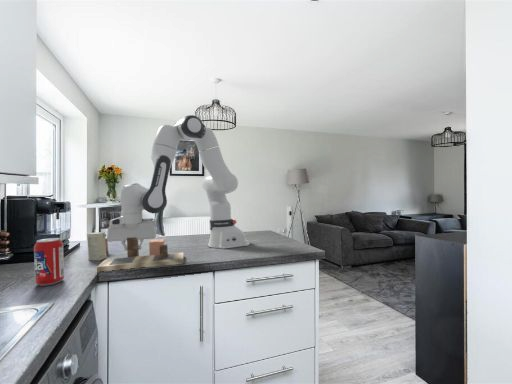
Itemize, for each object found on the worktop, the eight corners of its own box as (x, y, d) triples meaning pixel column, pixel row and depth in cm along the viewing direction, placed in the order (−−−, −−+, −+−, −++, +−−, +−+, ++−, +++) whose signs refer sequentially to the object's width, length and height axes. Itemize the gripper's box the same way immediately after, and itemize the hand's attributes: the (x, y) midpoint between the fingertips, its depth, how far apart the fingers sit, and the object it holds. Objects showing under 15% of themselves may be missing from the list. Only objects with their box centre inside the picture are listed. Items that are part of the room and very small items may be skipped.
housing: (164, 253, 130) (164, 238, 130) (163, 256, 122) (163, 241, 122) (151, 254, 128) (151, 239, 128) (149, 258, 121) (149, 242, 121)
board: (183, 256, 122) (182, 241, 122) (183, 263, 110) (182, 246, 110) (105, 263, 113) (105, 247, 113) (96, 272, 102) (96, 254, 102)
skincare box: (106, 258, 123) (106, 232, 122) (99, 261, 118) (98, 233, 118) (95, 257, 124) (94, 231, 124) (87, 260, 120) (86, 233, 120)
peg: (138, 257, 123) (138, 235, 123) (137, 259, 119) (136, 237, 119) (129, 258, 122) (128, 236, 122) (127, 260, 118) (126, 237, 118)
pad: (135, 257, 115) (135, 256, 115) (131, 262, 106) (131, 262, 106) (115, 259, 113) (115, 258, 113) (109, 264, 104) (109, 264, 104)
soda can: (67, 282, 91) (65, 238, 91) (37, 289, 85) (36, 242, 85) (61, 277, 96) (59, 236, 96) (33, 283, 91) (31, 240, 90)
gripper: (156, 217, 126) (157, 246, 126) (109, 219, 121) (110, 250, 121) (155, 218, 120) (156, 249, 120) (105, 221, 115) (106, 253, 115)
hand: (133, 249), depth 121 cm, fingers closed on peg, 4 cm apart
